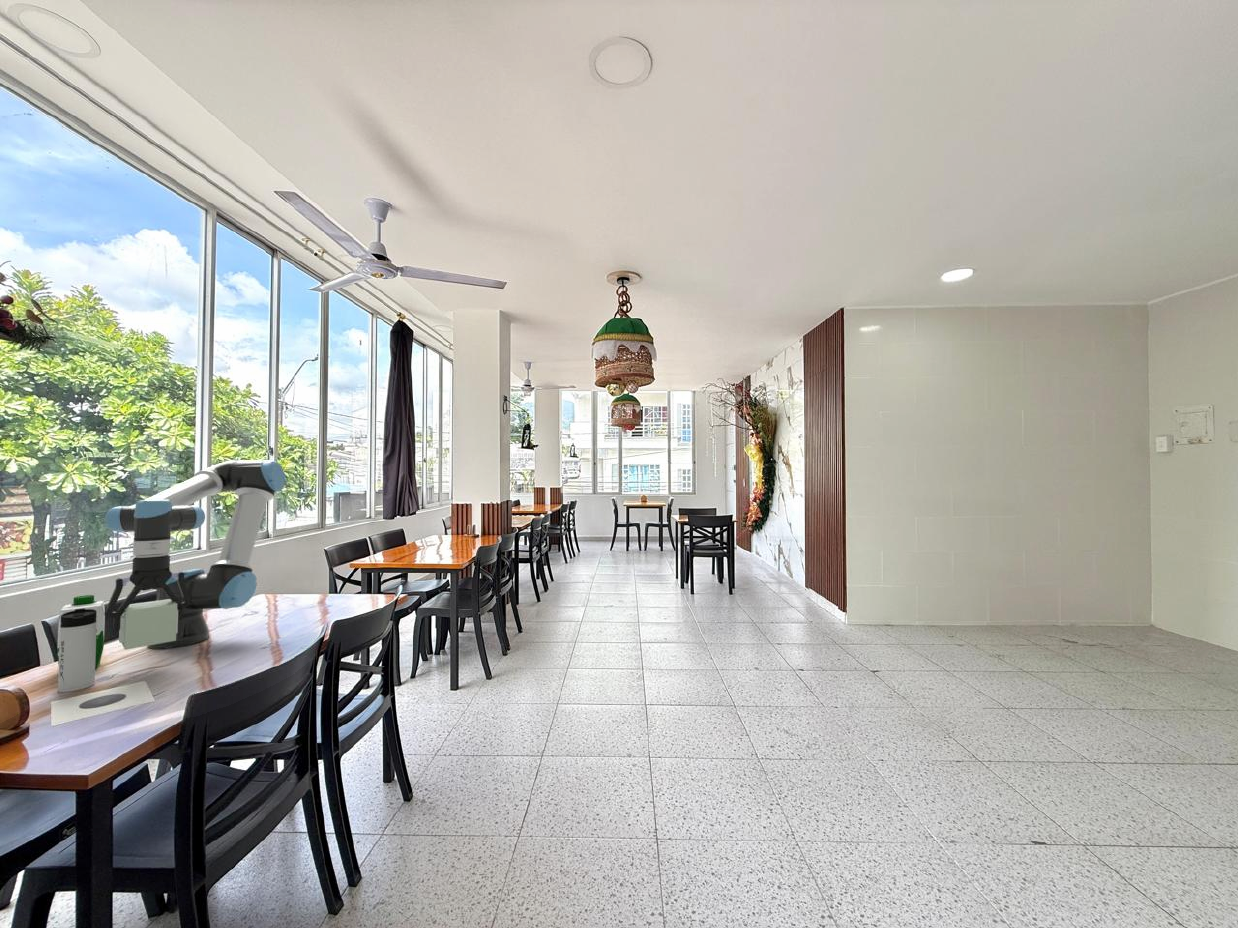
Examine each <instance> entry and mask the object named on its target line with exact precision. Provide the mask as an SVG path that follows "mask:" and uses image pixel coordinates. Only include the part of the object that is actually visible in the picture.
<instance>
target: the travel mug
mask: <svg viewBox="0 0 1238 928" xmlns="http://www.w3.org/2000/svg"><path fill="white" fill-rule="evenodd" d="M96 616H97V611H96V610H93V609H85V608H82V609H75V611H71V612H67V613H64V614H62V615H61V624H60V629H61V630H60V641H59V665H58V669H57V670H58V671H57V674H58V676H57V692H58V693H62V694H63V693H73V692H77V691H80V690H81V691H82V690H86V689H87V688H90V687H92V686H94V685H95V678H96V670H95V655H96V626H97V625H96V623H97V621H96Z"/></svg>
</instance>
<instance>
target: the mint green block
mask: <svg viewBox="0 0 1238 928" xmlns="http://www.w3.org/2000/svg"><path fill="white" fill-rule="evenodd" d="M121 616H124V617H125V621H124V642H123V643H121V645H122V647H123V649H124V650H130V649H136V648H142V647H143V648H144V647H148V646H149V645H154V644H160V643H165V642H171V641H176V627H177V603H176V602H173V601H172V600H171V599H166V600H159V601H156V600H151V601H146V602H145V601H144V602H136V603H131V604H130V605H129V606H128V607H127V608H126V609H125V611H124V613H123V614H122V615H121Z"/></svg>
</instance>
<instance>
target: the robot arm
mask: <svg viewBox="0 0 1238 928" xmlns="http://www.w3.org/2000/svg"><path fill="white" fill-rule="evenodd" d="M282 466H283V465H281V464H280V463H279V462H278V461H275V460H269V459H267V460H266V459H262V460H260V459H259V460H255V459H254V460H252V459H251V460H246V459H245V460H238V459H235V460H228V461H224V462H223V461H222V462H220V463H217V464H213V465H212V466H208V467H205V468H204V469H201V470H199V471H197V472H196V473H195V474H194V475H193V477H191V478H189V479H186V480H184V481H183V482H180V483H178V484H176V485H173V486H172V487H170V488H169V487H168V488H167V489H165V490H163V491H160V492H159V493H157V494H154V495H152V496H150V497H147V498H145V499H140V500H138V501H136V503H134V504H131V505H119V506H114V507H112V508H110V509H109V510H108V511H107V513H106V514H105V518H104V523H105V524H106V527H107V529H109V530H110V531H113V532H119V533H121V532H123V533H133V534H134V535H133V536H134V537H133V546H132V555H133V556H135V557H133V558H132V569H131V571H132V572H131V575H130V576H128V577H127V576H126V577H117V578H115V588H114V590H113V592H112V595H111V597H110V599H109V602H108V604H107V605H106V608H105V613H104V615H105V617H106V618H113V627H112V628H113V630H114V631H119V632H118V642H119V643H120V644H122V643H123V642H124V621H125V617H124V616H122V614H123V613H124V611H125V609H126V608H127V607H128V606H129V605H130V604H132V602H133V601H135V598H136V597H137V596H138V595H139V594H140V592H141V591H145V592H146V591H150V590H156V600H155V601H159V600H166V599H171V600H172V601H173V602H176V603H177V627H176V641H171V642H165V643H160V644H154V645H149V646H147V648H149V649H156V650H157V649H162V650H163V649H170V648H172V649H173V648H179V647H185V646H189V645H193V644H196V643H200V642H202V641H205V640H207V639H208V638H210V629H209V626H208V624H207V622H206V619H205V616H204V610H210V609H211V610H213V609H214V610H215V609H217V610H218V609H220V610H221V609H222V610H223V609H224V610H228V609H229V610H230V609H236V608H241V607H243V606H245V605H246V604H247V603H248V602H250V600H251V599H252V598H253V596H254V595H255V592H256V589H257V585H258V583H257V576H256V575H255V573H254V572H253V568H252V567H251V566H250V562H251V558H252V554H253V551H254V548H255V544H256V541H257V536H258V534H259V531H260V526H261V523H262V520H263V516H264V513H265V509H266V506H267V503H268V502H269V501H271V500H273V499H274V497H275V493H277V492H278V493H279V492H282V490H283V489H284V487H285V485H286V475H285V470H284V468H283V467H282ZM228 492H231V493H232V492H234V494H236V496H237V497H238V498H237V500H236V504H235V507H234V511H233V514H232V517H231V519H230V523H229V526H228V529H227V533H226V535H225V539H224V542H223V545H222V549H221V551H220V554H219V557H218V561H216V562H215V563H213V564H211V565H210V568H209V570H208V572H207V573H206V571H205V569H204V568H193V569H187V570H182V571H176V572H171V569H170V568H171V567H170V566H171V565H170V564H171V555H169V553H171V533H172V532H183V531H186V532H188V531H191V530H195V529H198V528H200V527H201V526H202V525H203V524H204V523H205V520H206V513H205V511H204V510H203V508H201V507H200V506H198V505H193V504H195V503H196V502H198V501H201V500H202V499H204V498H206V497H207V496H209V497H210V496H216V495H218V494H220V493H228ZM129 582H131V583H132V585H134V587H133V588H132V589H131V591H130V593H129V594H128V595H127V597H126V598H124V600H123V602H121V604H120V606H119V607H118V608H117V610H116V611H114V609H115V607H116V605H117V602H118V601H119V598H120V595H121V593H122V592H123V588H124V586H127V584H128V583H129Z"/></svg>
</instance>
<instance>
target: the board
mask: <svg viewBox="0 0 1238 928" xmlns="http://www.w3.org/2000/svg"><path fill="white" fill-rule="evenodd" d="M155 701H156V699H155V698H154V696H153V694H152V692H151V690H150V688H149V685H148V684H147V682H146V681H145V680H143V681H139V682H134V683H131V684H125V685H121V686H116V687H112V688H108V689H103V690H99V691H95V692H90V693H84V694H81V695H75V696H72V697H68V698H63V699H59V700H54V701H51V702H50V717H51V718H50V723H51V724H50V726H51V727H54V726H55V727H56V726H59V725H63V724H66V723H71V722H75V721H78V720H83V719H88V718H92V717H95V716H99V715H103V714H108V713H112V712H115V711H119V710H123V709H128V708H131V707H136V706H140V705H143V704H148V703H152V702H155Z"/></svg>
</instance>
